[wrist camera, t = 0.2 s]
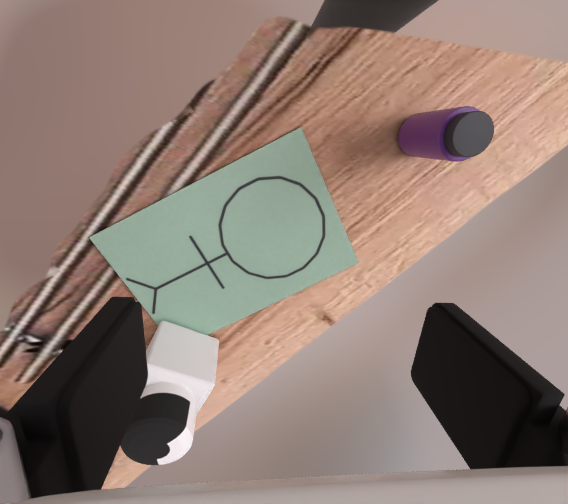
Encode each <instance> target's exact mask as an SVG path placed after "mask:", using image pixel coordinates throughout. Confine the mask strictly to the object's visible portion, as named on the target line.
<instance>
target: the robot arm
mask: <svg viewBox="0 0 568 504" xmlns="http://www.w3.org/2000/svg"><path fill="white" fill-rule="evenodd" d="M411 377H412V380H413V382H414V384H415V385H416V387H417V388H418V390H419V391H420V393H421V394H422V396H423V398H424V399H425V401H426V402H427V404H428V405H429V407H430V408H431V410H432V411H433V413H434V414H435V416H436V417H437V419H438V420H439V422H440V423H441V425H442V426H443V428H444V430H445V431H446V432H447V434H448V436H449V437H450V438H451V440H452V442H453V443H454V445H455V446H456V448H457V449H458V450H459V452H460V454H461V455H462V457H463V458H464V460H465V461H466V463H467V465H468V466H469V468H470V469H468V470H467V469H466V470H445V471H421V472H399V473H379V474H358V475H338V476H317V477H297V478H279V479H262V480H261V479H260V480H244V481H243V480H242V481H224V482H206V483H188V484H171V485H158V486H144V487H132V488H116V489H103V490H101V488H102V486H103V483H104V481H105V479H106V476H107V474H108V472H109V469H110V467H111V465H112V463H113V460H114V458H115V456H116V453H117V451H118V449H119V446H120V444H121V442H122V439H123V437H124V435H125V433H126V430H127V428H128V426H129V423H130V421H131V419H132V416H133V414H134V412H135V409H136V407H137V405H138V403H139V400H140V398H141V396H142V393H143V391H144V389H145V386H146V384H147V379H148V368H147V358H146V348H145V338H144V328H143V318H142V308H141V304H140V302H135V299H134V298H133V297H112V298H110V299H109V301H108V302H107V303H106V304H105V305H104V306H103V307H102V308H101V310H100V311H99V312H98V313H97V314H96V315H95V316H94V317H93V319H92V320H91V321H90V322H89V323H88V324H87V325H86V326H85V328H84V329H83V330H82V331H81V332H80V333H79V334H78V335H77V337H76V338H75V339H74V340H73V341H72V342H71V343H70V344H69V345H68V346H67V347H66V348H65V349H64V350H63V351H62V352H61V353H60V355H59V356H58V357H57V358H56V359H55V360H54V361H53V362H52V363H51V365H50V366H49V367H48V368H47V369H46V370H45V371H44V372H43V374H42V375H41V376H40V377H39V378H38V379H37V380H36V381H35V382H34V384H33V385H32V386H31V387H30V388H29V389H28V390H27V391H26V393H25V394H24V395H23V396H22V397H21V398H20V399H19V400H18V401H17V403H16V404H15V405H14V406H13V407H12V408H11V409H10V410H9V411H8V413H7V414H6V415H5V416H4V417H3V418H0V504H568V408H567V410H566V411H565V410H564V409H563V408H562V407H561V406H559V405H560V403H561V401H562V399H563V397H564V393H562V392H561V391H560V390H559V389H558V388H556V387H555V386H554V385H553V384H551V383H550V382H549V381H548V380H547V379H545V378H544V377H543V376H542V375H540V374H539V373H538V372H537V371H536V370H534V369H533V368H532V367H531V366H529V365H528V364H527V363H526V362H525V361H523V360H522V359H521V358H520V357H519V356H517V355H516V354H515V353H514V352H513V351H511V350H510V349H509V348H508V347H506V346H505V345H504V344H503V343H501V342H500V341H499V340H498V339H497V338H495V337H494V336H493V335H492V334H490V333H489V332H488V331H487V330H486V329H485V328H483V327H482V326H481V325H480V324H478V323H477V322H476V321H475V320H473V319H472V318H471V317H470V316H469V315H468V314H466V313H465V312H464V311H463V310H462V309H460V308H459V307H458V306H457V305H455V304H454V303H435V304H433V306H432V307H430V308H429V309H428V310H427V313H426V317H425V321H424V324H423V328H422V332H421V336H420V339H419V343H418V347H417V350H416V354H415V358H414V362H413V365H412V369H411Z"/></svg>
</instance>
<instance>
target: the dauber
mask: <svg viewBox="0 0 568 504" xmlns="http://www.w3.org/2000/svg"><path fill="white" fill-rule="evenodd" d="M493 133H494V125H493V121H492V119H491V117H490V116H489V115H488V114H486V113H485V112H482V111H479V110H478V109H476V108H474V107H470V106H465V107H458V108H451V109H445V110H438V111H431V112H425V113H418V114H414V115H412V116H410V117H409V118H408V119H407V120H406V121H405V122H404V123H403V124H402V126H401V128H400V131H399V135H398V141H399V145H400V148H401V150H402V151H403V152H404V153H405V154H407V155H409V156H413V157H421V158H430V159H439V160H447V161H463V160H466V159H468V158H470V157H473V156H476V155H478V154H480V153H481V152H483V151H484V150H485V149H486V148H487V147H488V145H489V144H490V142H491V140H492V137H493Z"/></svg>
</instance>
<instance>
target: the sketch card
mask: <svg viewBox="0 0 568 504" xmlns="http://www.w3.org/2000/svg"><path fill="white" fill-rule="evenodd" d="M89 238H90V240H91V241H92V242H93V243H94V245H95V246H96V247H97V249H98V250H99V251H100V252H101V254H102V255H103V256H104V257H105V259H106V260H107V261H108V263H109V264H110V265H111V266H112V268H113V269H114V270H115V271H116V273H117V274H118V275H119V277H120V278H121V279H122V280H123V282H124V283H125V284H126V286H127V287H128V288H129V289H130V291H131V292H132V293H133V294H134V296H135V297H136V298H137V300H138V301H139V302H140V303H141V305H142V306H143V307H144V309H145V310H146V311H147V312H148V314H149V315H150V316H151V317H152V319H153V320H154V321H155V323H156V324H157V325H158V326H159V324H160V322H161V321H163V320H164V321H167V322H170V323H173V324H176V325H179V326H182V327H185V328H188V329H191V330H193V331H196V332H199V333H202V334H205V335H209V334H211V333H213V332H215V331H217V330H219V329H221V328H223V327H226V326H228V325H230V324H232V323H234V322H236V321H238V320H240V319H242V318H244V317H246V316H249V315H251V314H253V313H255V312H257V311H259V310H261V309H263V308H265V307H267V306H270V305H272V304H274V303H276V302H278V301H280V300H282V299H284V298H286V297H288V296H290V295H293V294H295V293H297V292H299V291H301V290H303V289H305V288H307V287H309V286H311V285H314V284H316V283H318V282H320V281H322V280H324V279H326V278H328V277H330V276H332V275H334V274H337V273H339V272H341V271H343V270H345V269H347V268H349V267H351V266H353V265H355V264H358V263H359V262H358V260H357V257H356V255H355V252H354V250H353V248H352V245H351V243H350V241H349V238H348V236H347V234H346V231H345V229H344V227H343V224H342V222H341V220H340V217H339V215H338V213H337V210H336V208H335V206H334V203H333V201H332V199H331V196H330V194H329V192H328V189H327V187H326V184H325V182H324V180H323V177H322V175H321V173H320V170H319V168H318V166H317V163H316V161H315V159H314V156H313V154H312V152H311V149H310V147H309V145H308V142H307V140H306V138H305V135H304V133H303V131H302V128H301V127H300V128H298V129H296V130H294V131H292V132H290V133H288V134H286V135H284V136H282V137H280V138H279V139H277V140H275V141H273V142H271V143H269V144H267V145H265V146H263V147H261V148H259V149H257V150H256V151H254V152H252V153H250V154H248V155H246V156H244V157H242V158H240V159H238V160H236V161H234V162H232V163H231V164H229V165H227V166H225V167H223V168H221V169H219V170H217V171H215V172H213V173H211V174H209V175H208V176H206V177H204V178H202V179H200V180H198V181H196V182H194V183H192V184H190V185H188V186H186V187H185V188H183V189H181V190H179V191H177V192H175V193H173V194H171V195H169V196H167V197H165V198H163V199H162V200H160V201H158V202H156V203H154V204H152V205H150V206H148V207H146V208H144V209H142V210H140V211H139V212H137V213H135V214H133V215H131V216H129V217H127V218H125V219H123V220H121V221H119V222H117V223H116V224H114V225H112V226H110V227H108V228H106V229H104V230H102V231H100V232H98V233H96V234H94V235H92V236H91V237H89Z"/></svg>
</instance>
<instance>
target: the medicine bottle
mask: <svg viewBox="0 0 568 504" xmlns="http://www.w3.org/2000/svg"><path fill="white" fill-rule="evenodd" d="M218 347H219V340H218V339H217V338H214V337H211V336H208V335H205V334H202V333H199V332H196V331H193V330H191V329H188V328H185V327H182V326H179V325H176V324H173V323H170V322H167V321H164V320H163V321H161V322H160V324H159V326H158V328H157V330H156V332H155V334H154V336H153V338H152V340H151V342H150V344H149V346H148V348H147V350H146V358H147V368H148V379H147V384H146V386H145V389H144V391H143V393H142V396H141V398H140V400H139V403H138V405H137V407H136V409H135V412H134V414H133V416H132V419H131V421H130V423H129V426H128V428H127V430H126V433H125V435H124V437H123V439H122V442H121V444H120V446H121V448H122V450H123V452H124V453H125V455H126V456H128V457H129V458H130V459H132V460H134V461H136V462H138V463H142V464H146V465H162V464H167V463H171V462H173V461H176V460H178V459H179V458H181V457H182V456H183V455H184V454H185V453H186V452H187V451H188V450H189V449H190V447H191V445H192V441H193V435H194V428H195V421H196V415H197V414H198V412H199V410H200V409H201V407H202V406H203V404H204V402H205V401H206V399H207V398H208V396H209V394H210V393H211V391H212V390H213V388H214V386H215V378H216V368H217V357H218Z"/></svg>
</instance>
